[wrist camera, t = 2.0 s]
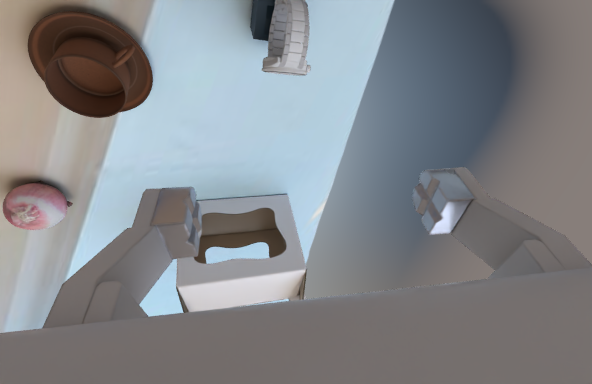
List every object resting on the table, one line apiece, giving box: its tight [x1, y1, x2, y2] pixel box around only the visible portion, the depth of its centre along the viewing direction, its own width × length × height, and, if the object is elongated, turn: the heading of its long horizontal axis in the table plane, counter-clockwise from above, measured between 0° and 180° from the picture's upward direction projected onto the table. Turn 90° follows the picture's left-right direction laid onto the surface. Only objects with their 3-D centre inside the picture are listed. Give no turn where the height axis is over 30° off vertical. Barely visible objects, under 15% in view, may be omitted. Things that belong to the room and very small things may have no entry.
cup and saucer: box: [28, 11, 153, 118], centre depth 34 cm, size 12×12×6 cm
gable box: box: [176, 194, 307, 313], centre depth 57 cm, size 22×13×28 cm, turn 82°
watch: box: [250, 0, 310, 75], centre depth 32 cm, size 6×8×11 cm
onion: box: [3, 180, 73, 230], centre depth 47 cm, size 8×8×7 cm
